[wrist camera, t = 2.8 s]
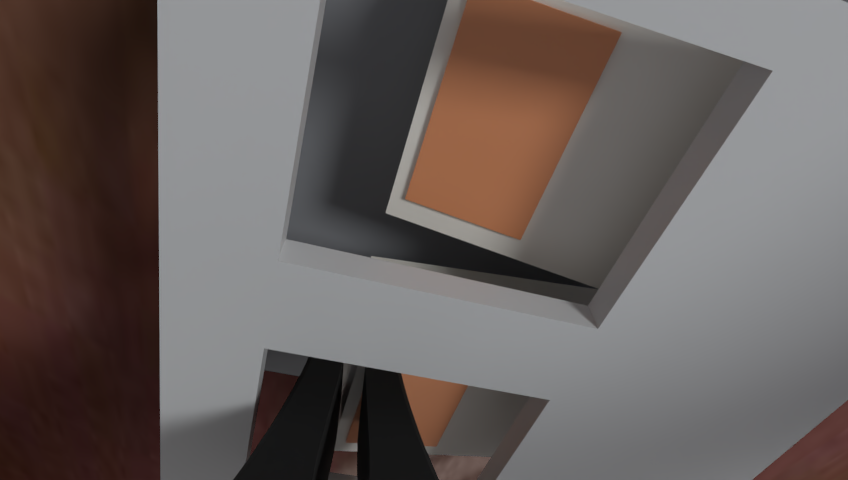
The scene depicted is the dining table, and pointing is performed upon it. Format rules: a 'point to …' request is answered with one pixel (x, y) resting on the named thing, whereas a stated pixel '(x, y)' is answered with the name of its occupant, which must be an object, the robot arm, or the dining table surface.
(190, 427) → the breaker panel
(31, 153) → the dining table surface
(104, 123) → the dining table surface
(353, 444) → the rocker far
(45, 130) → the dining table surface
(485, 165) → the rocker near
